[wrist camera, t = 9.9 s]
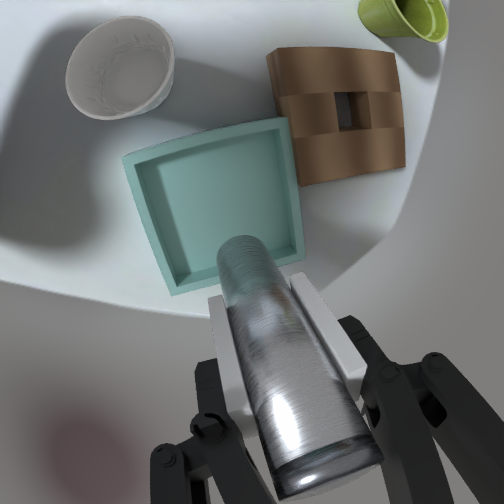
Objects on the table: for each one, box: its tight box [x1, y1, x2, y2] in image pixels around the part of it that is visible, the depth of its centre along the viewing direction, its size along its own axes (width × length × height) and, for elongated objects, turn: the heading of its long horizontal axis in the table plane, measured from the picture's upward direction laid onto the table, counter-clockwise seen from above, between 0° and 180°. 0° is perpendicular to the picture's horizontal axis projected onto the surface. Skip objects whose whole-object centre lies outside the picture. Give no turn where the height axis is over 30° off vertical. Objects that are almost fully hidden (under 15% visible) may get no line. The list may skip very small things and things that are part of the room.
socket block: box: [266, 47, 406, 187], centre depth 25 cm, size 14×14×4 cm
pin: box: [216, 235, 385, 502], centre depth 12 cm, size 4×4×15 cm
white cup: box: [65, 16, 175, 120], centre depth 17 cm, size 8×8×10 cm
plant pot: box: [358, 0, 449, 43], centre depth 18 cm, size 9×9×9 cm
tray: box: [121, 117, 306, 296], centre depth 28 cm, size 16×16×3 cm
